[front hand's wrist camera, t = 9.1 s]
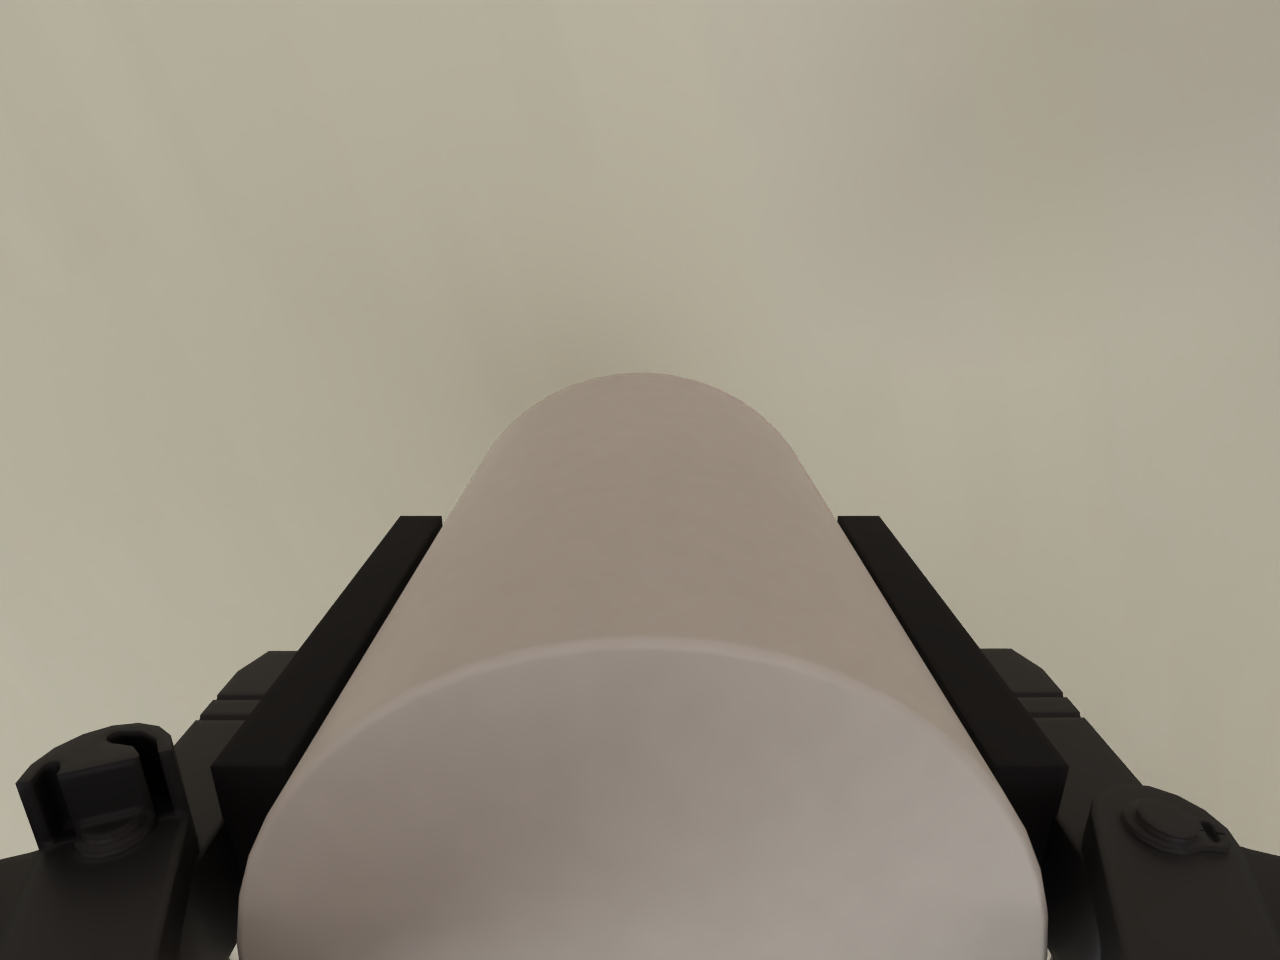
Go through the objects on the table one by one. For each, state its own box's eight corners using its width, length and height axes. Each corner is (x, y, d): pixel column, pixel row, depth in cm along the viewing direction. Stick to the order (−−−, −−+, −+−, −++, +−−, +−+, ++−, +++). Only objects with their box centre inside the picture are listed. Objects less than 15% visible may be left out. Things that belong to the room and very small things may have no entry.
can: (610, 291, 14) (560, 448, 5) (893, 521, 15) (1226, 944, 7) (394, 571, 16) (90, 1031, 7) (665, 748, 17) (691, 1304, 9)
